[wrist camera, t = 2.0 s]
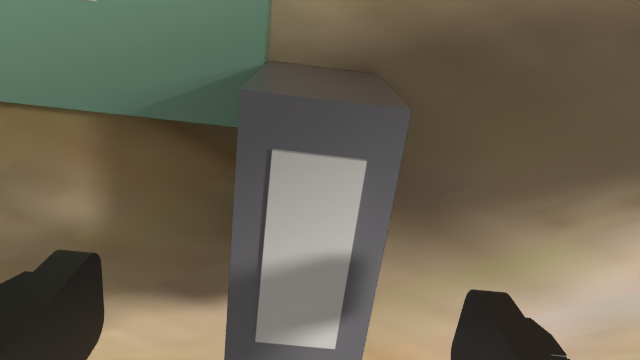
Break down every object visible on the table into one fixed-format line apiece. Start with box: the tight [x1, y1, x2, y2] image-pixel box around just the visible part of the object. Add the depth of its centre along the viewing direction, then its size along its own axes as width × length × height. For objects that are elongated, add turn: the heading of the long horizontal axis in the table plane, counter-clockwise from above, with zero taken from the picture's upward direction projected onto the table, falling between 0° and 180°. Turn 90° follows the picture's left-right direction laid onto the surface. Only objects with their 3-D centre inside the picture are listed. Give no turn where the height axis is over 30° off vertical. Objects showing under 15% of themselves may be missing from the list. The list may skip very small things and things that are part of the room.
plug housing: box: [224, 60, 412, 360], centre depth 15 cm, size 4×9×7 cm, turn 173°
